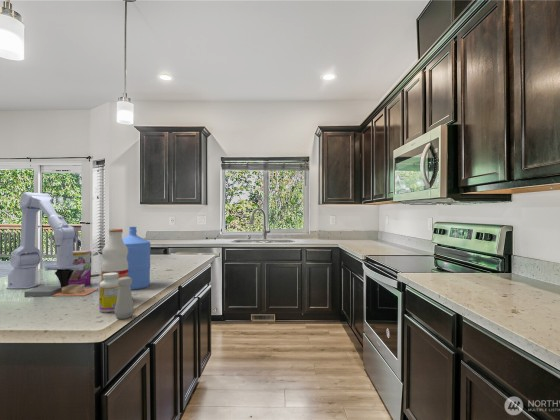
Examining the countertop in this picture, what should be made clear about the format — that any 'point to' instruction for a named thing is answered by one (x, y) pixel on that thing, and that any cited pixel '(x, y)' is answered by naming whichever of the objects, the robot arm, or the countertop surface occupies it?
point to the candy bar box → (81, 275)
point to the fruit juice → (115, 255)
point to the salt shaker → (124, 299)
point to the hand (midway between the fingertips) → (64, 287)
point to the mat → (83, 293)
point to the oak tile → (73, 289)
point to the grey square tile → (43, 291)
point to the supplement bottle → (108, 292)
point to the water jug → (138, 259)
